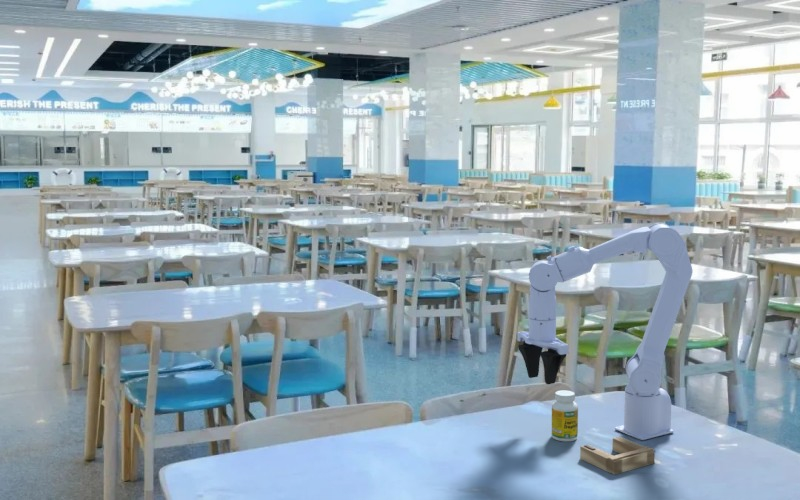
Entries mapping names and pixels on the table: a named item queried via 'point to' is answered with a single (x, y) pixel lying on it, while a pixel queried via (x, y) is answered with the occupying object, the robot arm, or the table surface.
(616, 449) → the hub cradle
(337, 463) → the table surface
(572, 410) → the supplement bottle
